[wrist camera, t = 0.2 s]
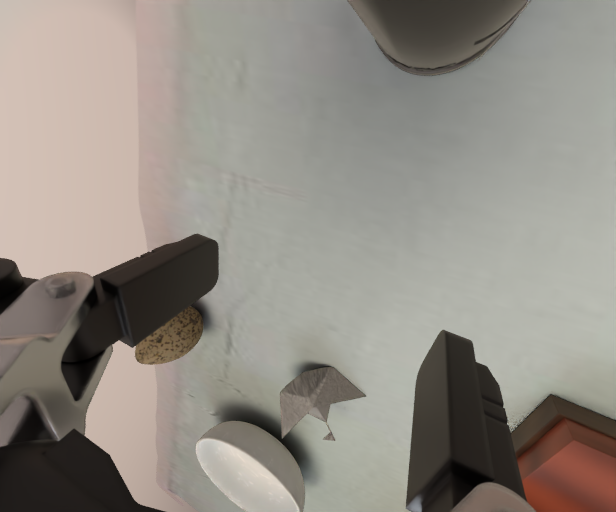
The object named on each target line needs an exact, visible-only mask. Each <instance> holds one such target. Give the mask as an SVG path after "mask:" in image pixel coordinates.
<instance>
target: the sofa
mask: <svg viewBox="0 0 616 512" xmlns="http://www.w3.org/2000/svg"><path fill="white" fill-rule="evenodd" d="M511 437H512V441H513V446H514V450H515V454H516V458H517V462H518V467H519V471H520V475H521V479H522V483H523V487H524V492H525V496H526V499H527V502H528V503H529V504H530V505H531V506H532V507H533V508H534V510H535V511H536V512H616V421H614V420H612V419H610V418H607V417H605V416H602V415H600V414H597V413H595V412H592V411H590V410H588V409H585V408H583V407H580V406H578V405H575V404H573V403H570V402H568V401H566V400H563V399H561V398H558V397H556V396H553V395H550V396H549V397H548V398H547V399H546V400H545V401H544V402H543V403H542V404H541V405H540V406H539V407H538V408H537V409H536V410H535V411H534V412H533V413H532V414H530V415H529V416H528V417H527V418H526V419H525V420H524V421H523V422H522V423H521V424H520V425H519V426H518V427H517V428H516V429H515V430H514V431H513V432H512V433H511Z"/></svg>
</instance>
